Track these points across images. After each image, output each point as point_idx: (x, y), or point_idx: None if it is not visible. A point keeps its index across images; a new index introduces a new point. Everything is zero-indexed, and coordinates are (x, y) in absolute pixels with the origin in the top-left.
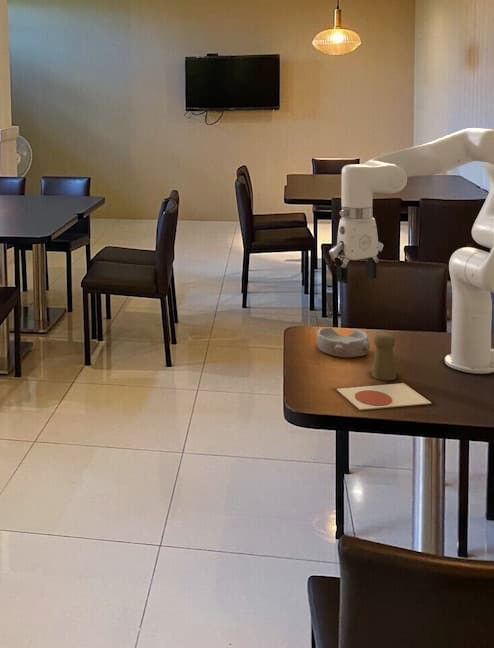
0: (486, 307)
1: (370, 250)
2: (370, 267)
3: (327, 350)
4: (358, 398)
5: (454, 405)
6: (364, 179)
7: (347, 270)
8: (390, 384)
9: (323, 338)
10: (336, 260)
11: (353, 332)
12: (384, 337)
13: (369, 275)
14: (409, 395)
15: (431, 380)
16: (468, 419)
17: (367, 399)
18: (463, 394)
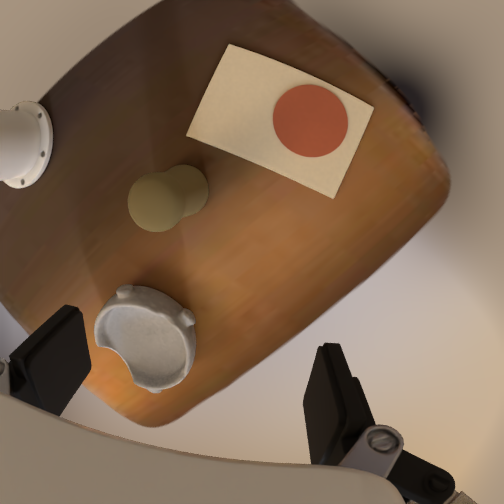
0: None
1: (2, 469)
2: (54, 371)
3: (195, 336)
4: (341, 135)
5: (198, 23)
6: None
7: (335, 404)
8: (216, 145)
9: (190, 360)
10: (449, 478)
11: (105, 346)
12: (167, 189)
13: (83, 346)
14: (234, 86)
15: (124, 122)
16: None
17: (329, 121)
18: (137, 48)
